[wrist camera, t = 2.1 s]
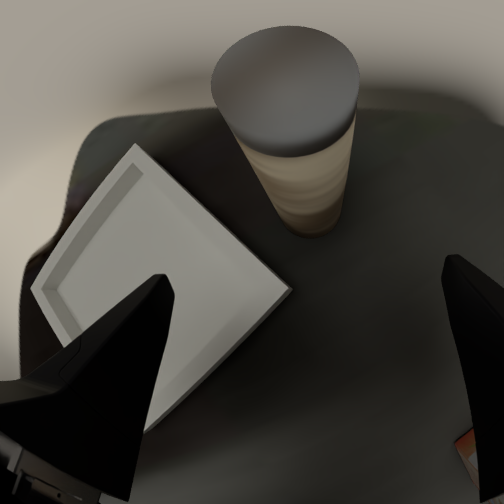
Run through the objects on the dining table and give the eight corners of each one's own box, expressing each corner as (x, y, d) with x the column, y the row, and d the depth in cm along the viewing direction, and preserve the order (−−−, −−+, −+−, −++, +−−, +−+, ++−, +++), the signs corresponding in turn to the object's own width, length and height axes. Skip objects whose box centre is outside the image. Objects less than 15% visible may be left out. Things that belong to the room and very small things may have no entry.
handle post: (353, 205, 22) (387, 67, 8) (312, 251, 22) (291, 165, 8) (306, 167, 23) (276, 11, 9) (266, 210, 23) (183, 88, 9)
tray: (293, 289, 22) (288, 287, 19) (153, 427, 22) (134, 439, 19) (152, 157, 26) (135, 143, 23) (52, 290, 26) (30, 288, 23)
